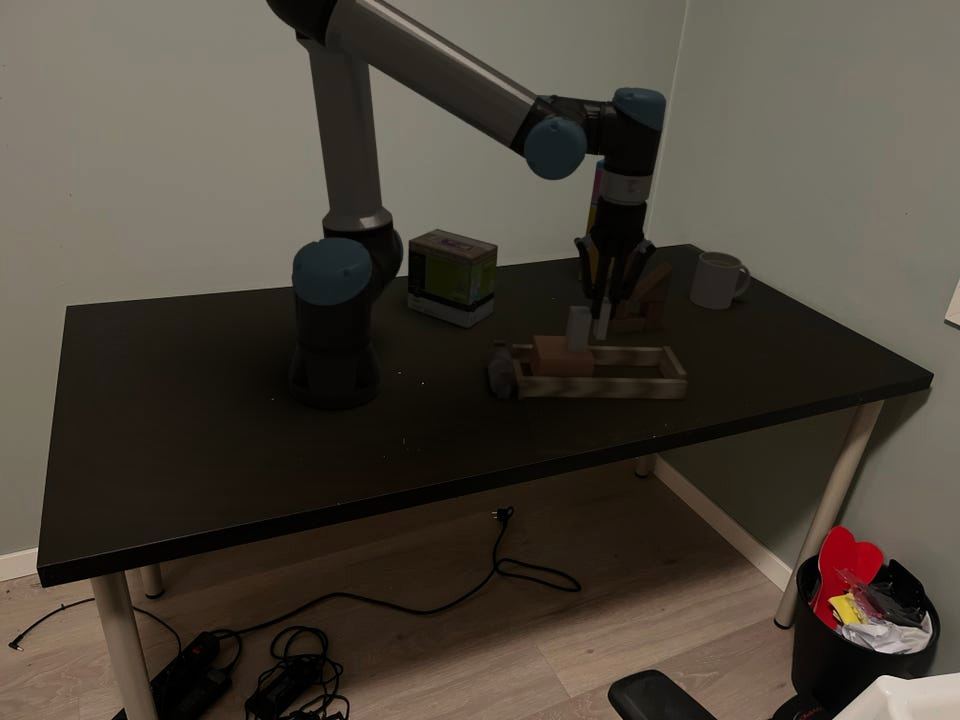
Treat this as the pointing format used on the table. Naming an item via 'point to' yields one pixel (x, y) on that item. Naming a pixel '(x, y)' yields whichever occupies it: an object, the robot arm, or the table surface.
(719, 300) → the mug
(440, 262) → the tea box
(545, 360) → the brown block with post
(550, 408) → the table surface
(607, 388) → the bay
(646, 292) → the brown wooden stand
